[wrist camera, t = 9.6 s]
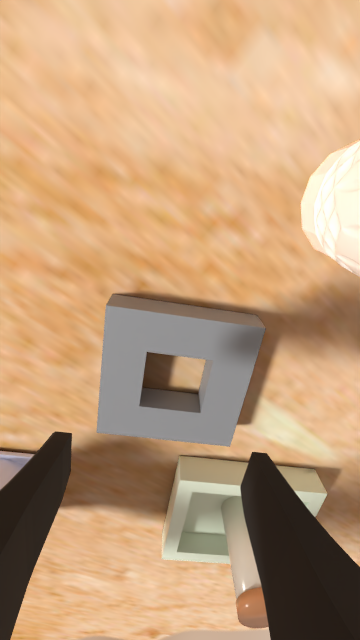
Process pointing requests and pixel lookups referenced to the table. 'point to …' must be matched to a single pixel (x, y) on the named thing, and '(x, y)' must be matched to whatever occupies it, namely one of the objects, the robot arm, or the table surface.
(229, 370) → the grey square frame
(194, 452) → the table surface
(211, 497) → the parts tray
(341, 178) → the white cup
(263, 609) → the cylinder
